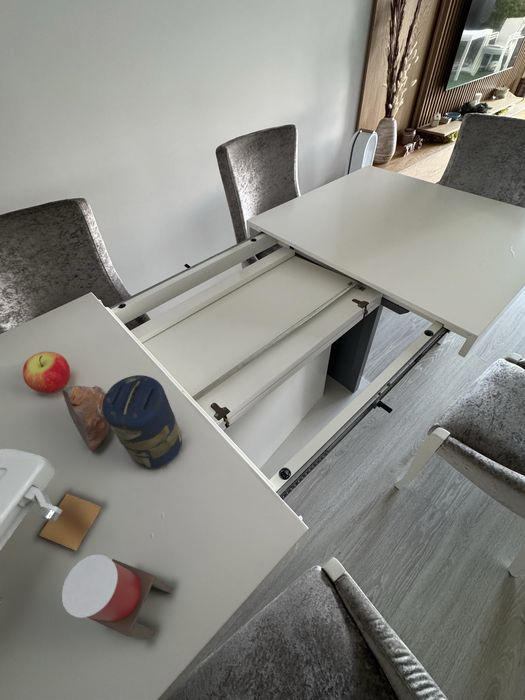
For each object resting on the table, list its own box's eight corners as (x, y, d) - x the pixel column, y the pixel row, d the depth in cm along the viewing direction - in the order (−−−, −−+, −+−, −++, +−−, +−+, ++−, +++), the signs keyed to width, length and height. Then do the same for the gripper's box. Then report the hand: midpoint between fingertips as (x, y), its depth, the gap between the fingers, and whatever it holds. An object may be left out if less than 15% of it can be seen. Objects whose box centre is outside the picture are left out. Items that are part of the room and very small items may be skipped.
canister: (121, 460, 64) (82, 409, 50) (150, 417, 69) (122, 361, 56) (166, 479, 61) (137, 431, 48) (192, 433, 67) (173, 378, 53)
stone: (69, 413, 70) (46, 385, 62) (109, 391, 73) (91, 361, 66) (94, 459, 64) (70, 434, 56) (136, 433, 67) (119, 405, 60)
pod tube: (127, 630, 39) (96, 626, 32) (87, 613, 40) (50, 605, 33) (149, 577, 42) (126, 564, 35) (112, 563, 43) (83, 547, 36)
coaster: (76, 551, 54) (74, 550, 54) (40, 536, 55) (38, 535, 55) (102, 507, 58) (100, 506, 58) (68, 494, 60) (66, 493, 59)
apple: (63, 403, 72) (39, 374, 64) (27, 397, 73) (-1, 367, 65) (84, 372, 77) (64, 342, 69) (50, 366, 78) (27, 336, 70)
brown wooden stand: (152, 638, 47) (127, 636, 39) (114, 621, 48) (82, 615, 40) (173, 587, 51) (154, 575, 42) (137, 572, 52) (112, 558, 44)
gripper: (-185, 619, 33) (-77, 680, 30) (-14, 433, 46) (74, 464, 43) (-128, 622, 38) (-30, 675, 35) (13, 453, 51) (93, 482, 48)
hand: (28, 557), depth 39 cm, fingers open, 8 cm apart
